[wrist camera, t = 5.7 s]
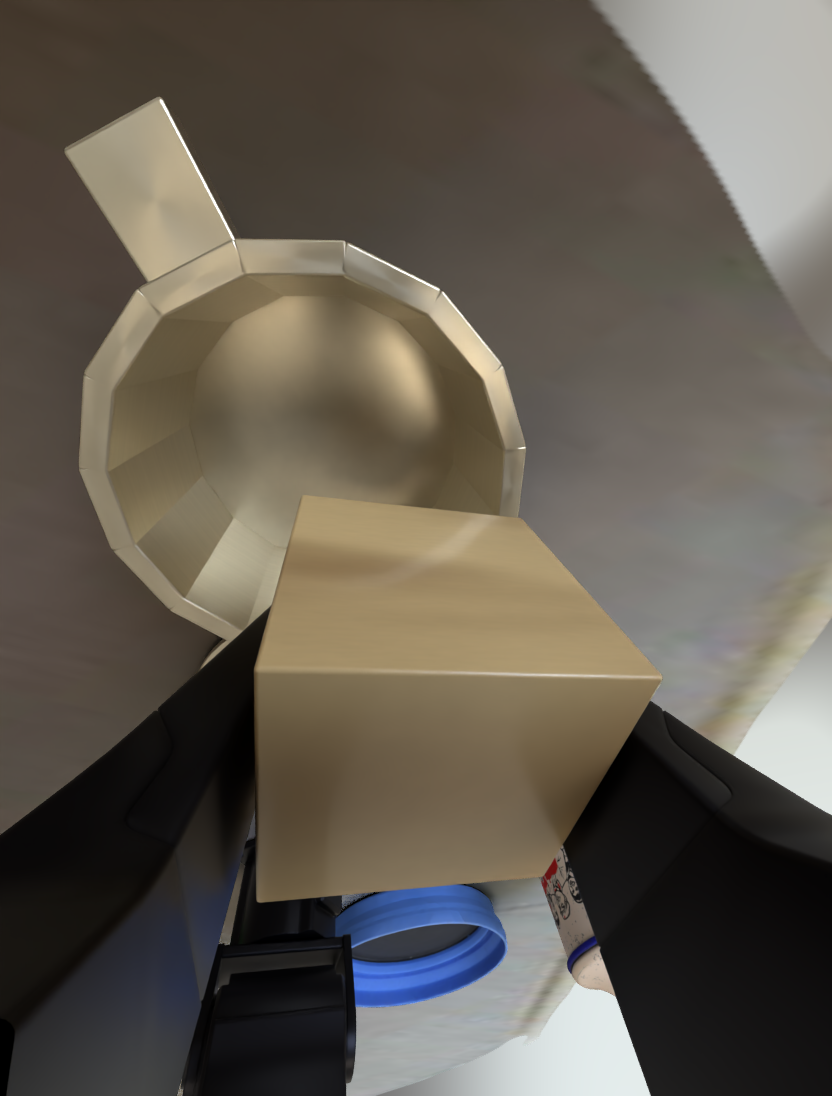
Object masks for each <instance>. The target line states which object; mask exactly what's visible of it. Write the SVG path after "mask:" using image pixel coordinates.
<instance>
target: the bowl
mask: <svg viewBox="0 0 832 1096" xmlns="http://www.w3.org/2000/svg"><path fill="white" fill-rule="evenodd" d="M343 934H351V945H352V960H353V975H354V990H355V1005H356V1007H390V1006H399V1005H406V1004H411V1003H416V1002H421V1001H425V1000H429V999H433V998H436V997H440V996H443V995H446V994H449V993H451V992H454V991H457V990H459V989H462V988H464V987H466V986H468V985H470V984H472V983H474V982H476V981H478V980H479V979H481V978H483V977H484V976H486V975H487V974H489V973H490V972H491V971H493V970H494V969H495V968H496V967H497V966H498V965H499V964H500V963H501V962H502V961H503V959H504V957H505V955H506V953H507V940H506V935H505V931H504V929H503V927H502V924H501V922H500V920H499V919H498V917H497V916H496V915H495V913H494V909H493V906H492V903H491V901H490V900H489V899H488V897H487V896H485V895H484V894H483V893H482V892H480V891H478V890H477V889H474V888H472V887H469V886H465V885H461V884H458V885H447V886H436V887H425V888H414V889H404V890H393V891H384V892H381V893H378V894H375V895H373V896H370V897H368V898H366V899H364V900H362V901H360V902H358V903H356V904H354V905H352V906H351V907H349V908H348V909H346V910H345V911H343V912H342V913H341V914H340V915H339V916H338V917H337V918H336V932H335V937H340V936H342V935H343Z"/></svg>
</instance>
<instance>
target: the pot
mask: <svg viewBox="0 0 832 1096" xmlns="http://www.w3.org/2000/svg"><path fill="white" fill-rule="evenodd" d="M64 152H65V155H66V157H67V158H68V160H69V161H70V163H71V165H72V166H73V168H74V169H75V171H76V172H77V174H78V175H79V177H80V179H81V180H82V182H83V183H84V185H85V186H86V188H87V190H88V191H89V193H90V194H91V196H92V197H93V199H94V200H95V202H96V204H97V205H98V207H99V208H100V210H101V211H102V213H103V214H104V216H105V218H106V219H107V221H108V222H109V224H110V225H111V227H112V229H113V230H114V232H115V233H116V235H117V236H118V238H119V239H120V241H121V243H122V244H123V246H124V247H125V249H126V250H127V252H128V253H129V255H130V257H131V258H132V260H133V261H134V263H135V264H136V266H137V268H138V269H139V271H140V272H141V274H142V275H143V277H144V278H145V280H146V282H147V283H146V284H144V285H142V286H140V287H139V288H138V289H137V290H135V292H134V294H133V295H132V297H131V298H130V300H129V301H128V303H127V305H126V306H125V308H124V309H123V311H122V313H121V314H120V316H119V317H118V319H117V320H116V322H115V324H114V325H113V327H112V328H111V330H110V332H109V333H108V335H107V336H106V338H105V339H104V341H103V343H102V344H101V346H100V347H99V349H98V351H97V352H96V354H95V355H94V357H93V358H92V360H91V362H90V363H89V365H88V366H87V368H86V370H85V371H84V374H85V375H84V376H83V390H82V408H81V427H80V445H79V463H78V466H79V472H80V474H81V477H82V479H83V482H84V484H85V486H86V489H87V491H88V494H89V496H90V499H91V501H92V503H93V506H94V508H95V511H96V513H97V516H98V518H99V521H100V523H101V525H102V528H103V530H104V533H105V535H106V538H107V540H108V543H109V545H110V547H111V549H112V550H113V551H114V553H115V554H116V555H117V556H118V557H119V558H120V559H121V560H122V561H123V562H124V563H125V564H126V565H127V566H128V567H129V568H130V570H131V571H132V572H133V573H134V574H135V575H136V576H137V577H138V578H139V579H140V580H141V581H142V582H143V583H144V584H145V585H146V586H147V587H148V588H149V589H150V590H151V592H152V593H153V594H154V595H155V596H156V597H157V598H158V599H159V600H160V601H161V602H162V603H163V604H164V605H165V606H166V607H167V608H168V609H170V611H171V612H173V613H175V614H177V615H179V616H181V617H183V618H185V619H187V620H189V621H190V622H192V623H194V624H196V625H198V626H200V627H202V628H204V629H206V630H208V631H209V632H211V633H213V634H215V635H217V636H219V637H221V638H223V639H225V640H227V641H229V642H231V641H232V640H233V639H235V638H236V637H237V636H238V635H239V634H240V633H241V632H242V631H243V630H244V629H246V628H247V627H248V626H249V625H250V624H251V623H252V622H253V621H254V620H255V619H257V618H258V617H259V616H260V615H261V614H262V613H263V612H264V611H265V610H266V609H268V608H269V607H270V606H271V605H272V601H273V597H274V594H275V590H276V586H277V583H278V579H279V575H280V572H281V568H282V564H283V561H284V557H285V553H286V550H287V546H288V543H289V539H290V535H291V532H292V528H293V524H294V521H295V517H296V513H297V510H298V506H299V502H300V499H301V496H302V495H309V496H319V497H328V498H337V499H346V500H356V501H365V502H374V503H384V504H393V505H402V506H412V507H421V508H430V509H440V510H449V511H458V512H468V513H477V514H486V515H496V516H505V517H514V518H518V513H519V505H520V497H521V488H522V480H523V471H524V463H525V455H526V447H525V441H524V437H523V434H522V430H521V427H520V423H519V420H518V416H517V412H516V409H515V405H514V402H513V398H512V395H511V391H510V388H509V384H508V381H507V377H506V373H505V370H504V367H503V366H502V363H501V361H500V360H499V359H498V358H497V356H496V355H495V354H494V353H493V351H492V350H491V349H490V348H489V347H488V345H487V344H486V343H485V342H484V340H483V339H482V338H481V337H480V335H479V334H478V333H477V332H476V330H475V329H474V328H473V327H472V326H471V324H470V323H469V322H468V321H467V319H466V318H465V317H464V316H463V314H462V313H461V312H460V311H459V310H458V308H457V307H456V306H455V305H454V303H453V302H452V301H451V300H450V298H449V297H448V296H447V295H446V293H445V292H444V291H440V289H439V287H437V286H435V285H433V284H431V283H429V282H427V281H425V280H423V279H421V278H419V277H417V276H415V275H413V274H411V273H409V272H407V271H405V270H403V269H401V268H399V267H397V266H395V265H393V264H391V263H389V262H387V261H385V260H383V259H381V258H379V257H378V256H376V255H374V254H372V253H370V252H368V251H366V250H364V249H362V248H360V247H358V246H356V245H354V244H352V243H350V242H346V243H345V241H344V240H311V239H255V238H240V236H239V234H238V232H237V230H236V229H235V227H234V225H233V223H232V221H231V219H230V217H229V215H228V213H227V211H226V209H225V207H224V205H223V203H222V201H221V199H220V197H219V196H218V194H217V192H216V190H215V188H214V186H213V184H212V182H211V180H210V178H209V176H208V174H207V172H206V170H205V168H204V166H203V165H202V163H201V161H200V159H199V157H198V155H197V153H196V151H195V149H194V147H193V145H192V143H191V141H190V139H189V137H188V135H187V133H186V132H185V130H184V128H183V126H182V124H181V122H180V120H179V118H178V117H177V116H176V114H175V113H174V112H173V111H172V109H171V108H170V107H169V106H168V104H167V103H166V102H165V101H164V100H163V99H162V98H161V97H157V98H155V99H153V100H151V101H149V102H148V103H146V104H144V105H142V106H140V107H139V108H137V109H135V110H133V111H131V112H129V113H128V114H126V115H124V116H122V117H120V118H119V119H117V120H115V121H113V122H111V123H110V124H108V125H106V126H104V127H102V128H100V129H99V130H97V131H95V132H93V133H91V134H90V135H88V136H86V137H84V138H82V139H80V140H79V141H77V142H75V143H73V144H71V145H70V146H68V147H66V148H65V149H64Z"/></svg>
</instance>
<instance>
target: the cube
mask: <svg viewBox="0 0 832 1096" xmlns="http://www.w3.org/2000/svg"><path fill="white" fill-rule="evenodd" d="M662 680H663V677H662V675H661V674H660V673H659V671H658V670H657V669H656V668H655V667H654V666H653V665H652V664H651V662H650V661H649V660H648V659H647V658H646V657H645V656H644V655H643V654H642V652H641V651H640V650H639V649H638V648H637V647H636V646H635V645H634V644H633V642H632V641H631V640H630V639H629V638H628V637H627V636H626V635H625V633H624V632H623V631H622V630H621V629H620V628H619V627H618V626H617V625H616V623H615V622H614V621H613V620H612V619H611V618H610V617H609V616H608V614H607V613H606V612H605V611H604V610H603V609H602V608H601V607H600V606H599V604H598V603H597V602H596V601H595V600H594V599H593V598H592V597H591V595H590V594H589V593H588V592H587V591H586V590H585V589H584V588H583V587H582V585H581V584H580V583H579V582H578V581H577V580H576V579H575V578H574V576H573V575H572V574H571V573H570V572H569V571H568V570H567V569H566V568H565V566H564V565H563V564H562V563H561V562H560V561H559V560H558V559H557V557H556V556H555V555H554V554H553V553H552V552H551V551H550V550H549V549H548V547H547V546H546V545H545V544H544V543H543V542H542V541H541V540H540V539H539V537H538V536H537V535H536V534H535V533H534V532H533V531H532V530H531V528H530V527H529V526H528V525H527V524H526V523H525V522H524V521H523V520H522V519H521V518H514V517H505V516H496V515H486V514H477V513H468V512H458V511H449V510H440V509H430V508H421V507H412V506H402V505H393V504H384V503H374V502H365V501H356V500H346V499H337V498H328V497H319V496H309V495H302V496H301V499H300V502H299V506H298V510H297V513H296V517H295V521H294V524H293V528H292V532H291V535H290V539H289V543H288V546H287V550H286V553H285V557H284V561H283V564H282V568H281V572H280V575H279V579H278V583H277V586H276V590H275V594H274V597H273V601H272V605H271V608H270V612H269V615H268V619H267V623H266V626H265V630H264V634H263V637H262V641H261V645H260V648H259V652H258V656H257V659H256V663H255V666H254V738H255V834H256V900H257V902H259V903H262V902H273V901H283V900H294V899H305V898H316V897H327V896H338V895H349V894H360V893H371V892H382V891H393V890H404V889H414V888H425V887H436V886H447V885H458V884H469V883H480V882H491V881H502V880H513V879H524V878H535V877H543V876H544V875H545V873H546V871H547V870H548V868H549V867H550V865H551V863H552V862H553V860H554V858H555V857H556V855H557V853H558V852H559V850H560V848H561V847H562V845H563V843H564V842H565V840H566V839H567V837H568V835H569V834H570V832H571V830H572V829H573V827H574V825H575V824H576V822H577V820H578V819H579V817H580V815H581V814H582V812H583V810H584V809H585V807H586V806H587V804H588V802H589V801H590V799H591V797H592V796H593V794H594V792H595V791H596V789H597V787H598V786H599V784H600V782H601V781H602V779H603V778H604V776H605V774H606V773H607V771H608V769H609V768H610V766H611V764H612V763H613V761H614V759H615V758H616V756H617V754H618V753H619V751H620V750H621V748H622V746H623V745H624V743H625V741H626V740H627V738H628V736H629V735H630V733H631V731H632V730H633V728H634V726H635V725H636V723H637V722H638V720H639V718H640V717H641V715H642V713H643V712H644V710H645V708H646V707H647V705H648V703H649V702H650V700H651V698H652V697H653V695H654V694H655V692H656V690H657V689H658V687H659V685H660V684H661V682H662Z"/></svg>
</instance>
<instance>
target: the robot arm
mask: <svg viewBox="0 0 832 1096" xmlns="http://www.w3.org/2000/svg"><path fill="white" fill-rule="evenodd" d="M270 608H271V606H270V607H269V608H268V609H266V610H265V611H264V612H263V613H262V614H261V615H260V616H259V617H258V618H257V619H255V620H254V621H253V622H252V623H251V624H250V625H249V626H248V627H247V628H246V629H244V630H243V631H242V632H241V633H240V634H239V635H238V636H237V637H236V638H235V639H233V640H232V641H231V642H230V643H229V644H228V645H227V646H226V647H225V648H223V649H222V650H221V651H220V652H219V653H218V654H217V655H216V656H215V657H214V658H212V659H211V660H210V661H209V662H208V663H207V664H206V665H205V666H204V667H203V668H201V669H200V670H199V671H198V672H197V673H196V674H195V675H194V676H193V677H192V678H190V679H189V680H188V681H187V682H186V683H185V684H184V685H183V686H182V687H181V688H179V689H178V690H177V691H176V692H175V693H174V694H173V695H172V696H171V697H170V698H168V699H167V700H166V701H165V702H164V703H163V704H162V705H161V706H160V707H159V708H158V711H154V712H153V713H152V714H151V715H149V716H148V717H147V718H146V719H145V720H144V721H143V722H142V723H141V724H140V725H138V726H137V727H136V728H135V729H134V730H133V731H132V732H130V733H129V734H128V735H127V736H126V737H125V738H123V739H122V740H121V741H120V742H119V743H118V744H117V745H115V746H114V747H113V748H112V749H111V750H110V751H108V752H107V753H106V754H105V755H103V756H102V757H101V758H100V759H98V760H97V761H96V762H95V763H93V764H92V765H91V766H89V767H88V768H87V769H86V770H84V771H83V772H82V773H81V774H79V775H78V776H77V777H76V778H74V779H73V780H72V781H71V782H69V783H68V784H67V785H65V786H64V787H63V788H61V789H60V790H59V791H57V792H56V793H55V794H53V795H52V796H51V797H50V798H48V799H47V800H46V801H44V802H43V803H42V804H40V805H39V806H38V807H36V808H35V809H34V810H33V811H31V812H30V813H29V814H27V815H26V816H25V817H23V818H22V819H21V820H19V821H18V822H17V823H16V824H14V825H13V826H12V827H10V828H9V829H8V830H6V831H5V832H4V833H2V834H1V835H0V1096H177V1094H178V1090H179V1086H180V1083H181V1079H182V1083H181V1089H184V1090H183V1096H346V1083H350V1082H351V1080H352V1076H353V1070H354V1062H355V1049H356V1005H355V990H354V975H353V960H352V945H351V934H343V935H342V936H340V937H335V932H336V915H339V914H340V912H341V909H342V895H338V896H327V897H316V898H305V899H294V900H283V901H273V902H262V903H259V902H257V900H256V839H255V840H252V841H250V842H247V843H246V840H247V836H248V833H249V829H250V825H251V822H252V818H253V814H254V811H255V738H254V666H255V663H256V659H257V656H258V652H259V648H260V645H261V641H262V637H263V634H264V630H265V626H266V623H267V619H268V615H269V612H270ZM563 848H564V851H565V854H566V856H567V859H568V862H569V865H570V868H571V870H572V873H573V876H574V879H575V882H576V885H577V887H578V890H579V893H580V896H581V899H582V902H583V904H584V907H585V910H586V913H587V916H588V919H589V921H590V924H591V927H592V930H593V933H594V935H595V938H596V941H597V944H598V946H599V947H601V948H600V953H601V956H602V959H603V962H604V965H605V967H606V970H607V973H608V976H609V979H610V982H611V984H612V987H613V990H614V993H615V996H616V999H617V1001H618V1004H619V1006H620V1009H621V1013H622V1015H623V1018H624V1021H625V1024H626V1027H627V1029H628V1032H629V1035H630V1038H631V1041H632V1044H633V1047H634V1049H635V1052H636V1055H637V1058H638V1061H639V1063H640V1066H641V1069H642V1072H643V1074H644V1077H645V1080H646V1083H647V1086H648V1089H649V1092H650V1094H651V1096H832V815H830V814H828V813H826V812H825V811H823V810H821V809H819V808H818V807H816V806H814V805H813V804H811V803H809V802H808V801H806V800H804V799H803V798H801V797H800V796H798V795H796V794H795V793H793V792H791V791H790V790H788V789H787V788H785V787H783V786H782V785H780V784H778V783H777V782H775V781H774V780H772V779H770V778H769V777H767V776H765V775H764V774H762V773H761V772H759V771H757V770H755V769H754V768H752V767H751V766H749V765H748V764H746V763H744V762H742V761H741V760H739V759H738V758H736V757H735V756H733V755H732V754H730V753H728V752H727V751H725V750H724V749H722V748H720V747H719V746H717V745H716V744H714V743H712V742H711V741H709V740H708V739H706V738H705V737H703V736H702V735H700V734H699V733H697V732H696V731H694V730H693V729H691V728H690V727H688V726H687V725H685V724H684V723H682V722H681V721H679V720H678V719H676V718H675V717H674V716H672V715H671V714H669V713H668V712H666V711H662V709H661V708H660V707H659V706H657V705H656V704H654V703H653V702H652V701H650V702H649V703H648V705H647V707H646V708H645V710H644V712H643V713H642V715H641V717H640V718H639V720H638V722H637V723H636V725H635V726H634V728H633V730H632V731H631V733H630V735H629V736H628V738H627V740H626V741H625V743H624V745H623V746H622V748H621V750H620V751H619V753H618V754H617V756H616V758H615V759H614V761H613V763H612V764H611V766H610V768H609V769H608V771H607V773H606V774H605V776H604V778H603V779H602V781H601V782H600V784H599V786H598V787H597V789H596V791H595V792H594V794H593V796H592V797H591V799H590V801H589V802H588V804H587V806H586V807H585V809H584V810H583V812H582V814H581V815H580V817H579V819H578V820H577V822H576V824H575V825H574V827H573V829H572V830H571V832H570V834H569V835H568V837H567V839H566V840H565V842H564V843H563ZM240 862H241V863H242V864H244V865H245V868H244V873H243V879H242V884H241V889H240V894H239V900H238V905H237V910H236V915H235V921H234V926H233V931H232V936H231V942H230V945H224V944H225V943H223V944H218V943H219V939H220V935H221V932H222V928H223V924H224V921H225V917H226V913H227V910H228V906H229V902H230V899H231V895H232V891H233V888H234V884H235V880H236V877H237V873H238V869H239V866H240ZM218 988H220V989H219V990H218Z"/></svg>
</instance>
